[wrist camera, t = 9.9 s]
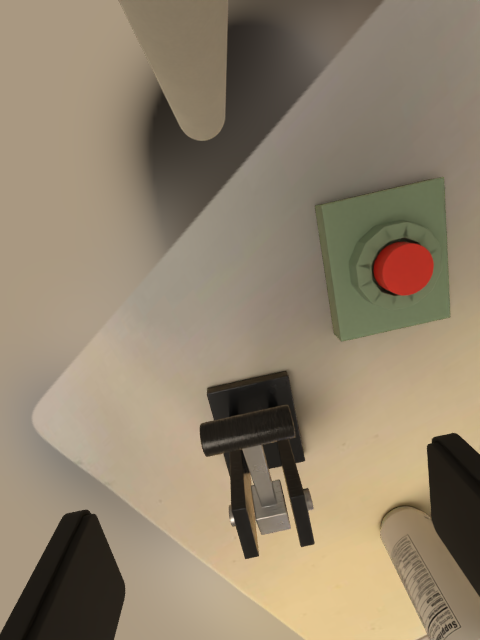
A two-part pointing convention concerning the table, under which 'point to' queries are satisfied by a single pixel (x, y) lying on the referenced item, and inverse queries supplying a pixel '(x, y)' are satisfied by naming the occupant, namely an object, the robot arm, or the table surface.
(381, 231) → the button box
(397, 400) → the table surface
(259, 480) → the lever
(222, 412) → the bracket
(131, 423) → the table surface
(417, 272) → the stop button
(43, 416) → the table surface
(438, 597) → the energy drink can
